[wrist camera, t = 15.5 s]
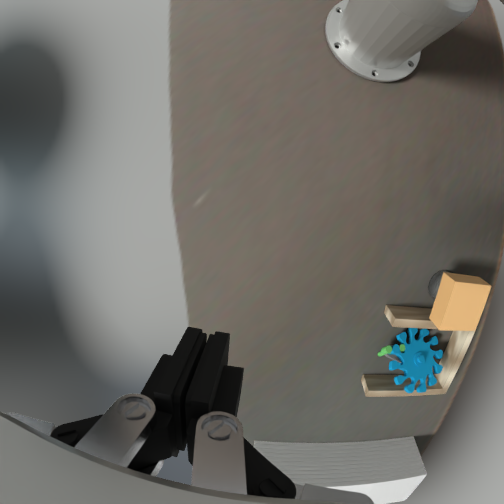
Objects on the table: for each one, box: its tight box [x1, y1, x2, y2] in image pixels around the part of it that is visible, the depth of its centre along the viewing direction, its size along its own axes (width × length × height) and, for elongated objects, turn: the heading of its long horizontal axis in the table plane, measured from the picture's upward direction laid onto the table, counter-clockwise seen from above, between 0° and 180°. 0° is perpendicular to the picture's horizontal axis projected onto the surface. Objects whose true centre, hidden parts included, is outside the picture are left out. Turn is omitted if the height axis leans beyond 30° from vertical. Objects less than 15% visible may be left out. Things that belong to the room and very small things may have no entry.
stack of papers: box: [254, 436, 427, 504], centre depth 45 cm, size 32×11×11 cm, turn 87°
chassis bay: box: [361, 305, 477, 397], centre depth 39 cm, size 13×15×4 cm
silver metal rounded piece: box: [428, 270, 450, 300], centre depth 35 cm, size 4×4×6 cm
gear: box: [378, 328, 443, 393], centre depth 39 cm, size 11×6×10 cm
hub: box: [429, 272, 491, 331], centre depth 32 cm, size 6×6×3 cm
